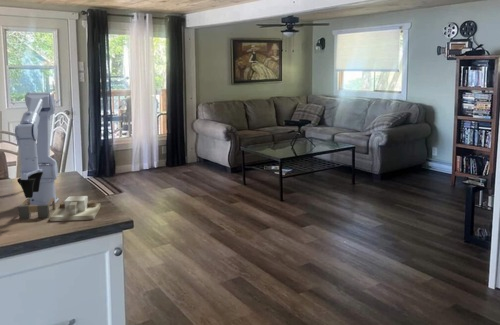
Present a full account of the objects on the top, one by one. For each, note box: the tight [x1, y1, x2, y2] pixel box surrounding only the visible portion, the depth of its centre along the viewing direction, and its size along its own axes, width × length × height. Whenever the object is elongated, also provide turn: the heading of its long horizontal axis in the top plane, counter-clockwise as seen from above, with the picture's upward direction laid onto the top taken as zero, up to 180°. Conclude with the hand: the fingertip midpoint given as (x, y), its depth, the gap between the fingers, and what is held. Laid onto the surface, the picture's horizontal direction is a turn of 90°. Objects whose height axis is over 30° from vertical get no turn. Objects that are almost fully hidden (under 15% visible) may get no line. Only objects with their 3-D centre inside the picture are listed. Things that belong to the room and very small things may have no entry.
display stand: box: [49, 195, 101, 222], centre depth 177 cm, size 15×15×6 cm
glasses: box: [17, 198, 56, 220], centre depth 177 cm, size 10×11×4 cm
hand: (32, 194), depth 172 cm, fingers open, 7 cm apart
